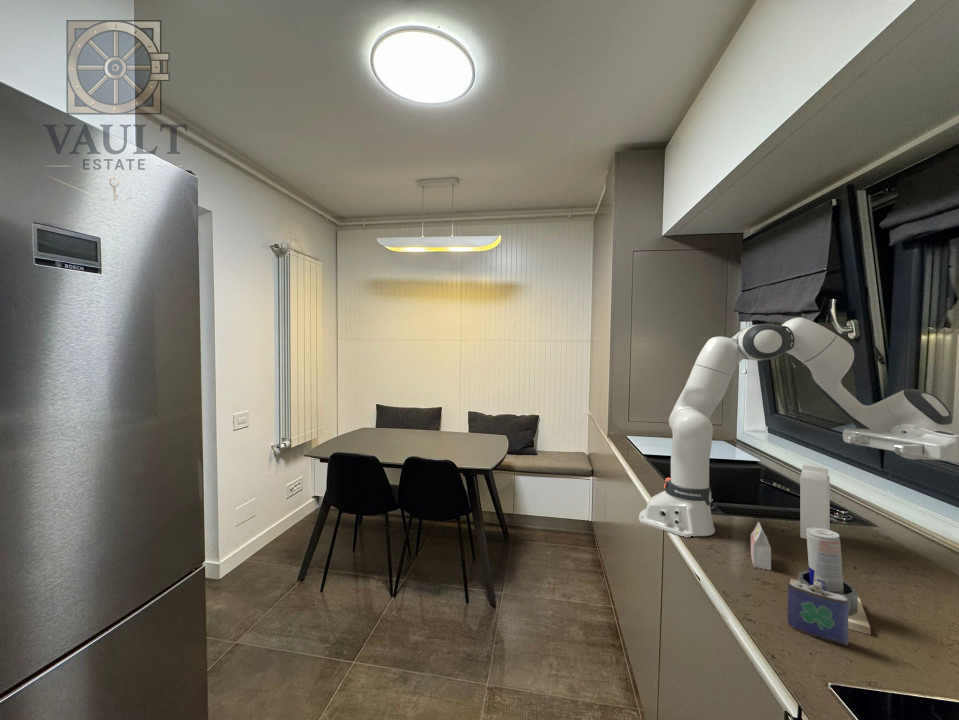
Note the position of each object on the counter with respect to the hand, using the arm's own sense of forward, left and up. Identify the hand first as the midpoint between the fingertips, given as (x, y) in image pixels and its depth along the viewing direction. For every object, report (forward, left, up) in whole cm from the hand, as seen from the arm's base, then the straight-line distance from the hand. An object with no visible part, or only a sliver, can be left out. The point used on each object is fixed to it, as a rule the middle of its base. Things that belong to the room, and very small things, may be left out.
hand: (873, 444), depth 94 cm
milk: (-9, +21, -34) cm, 41 cm away
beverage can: (-10, -20, -33) cm, 39 cm away
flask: (-13, -32, -34) cm, 49 cm away
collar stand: (-10, -20, -34) cm, 41 cm away
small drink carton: (-23, -6, -34) cm, 41 cm away
